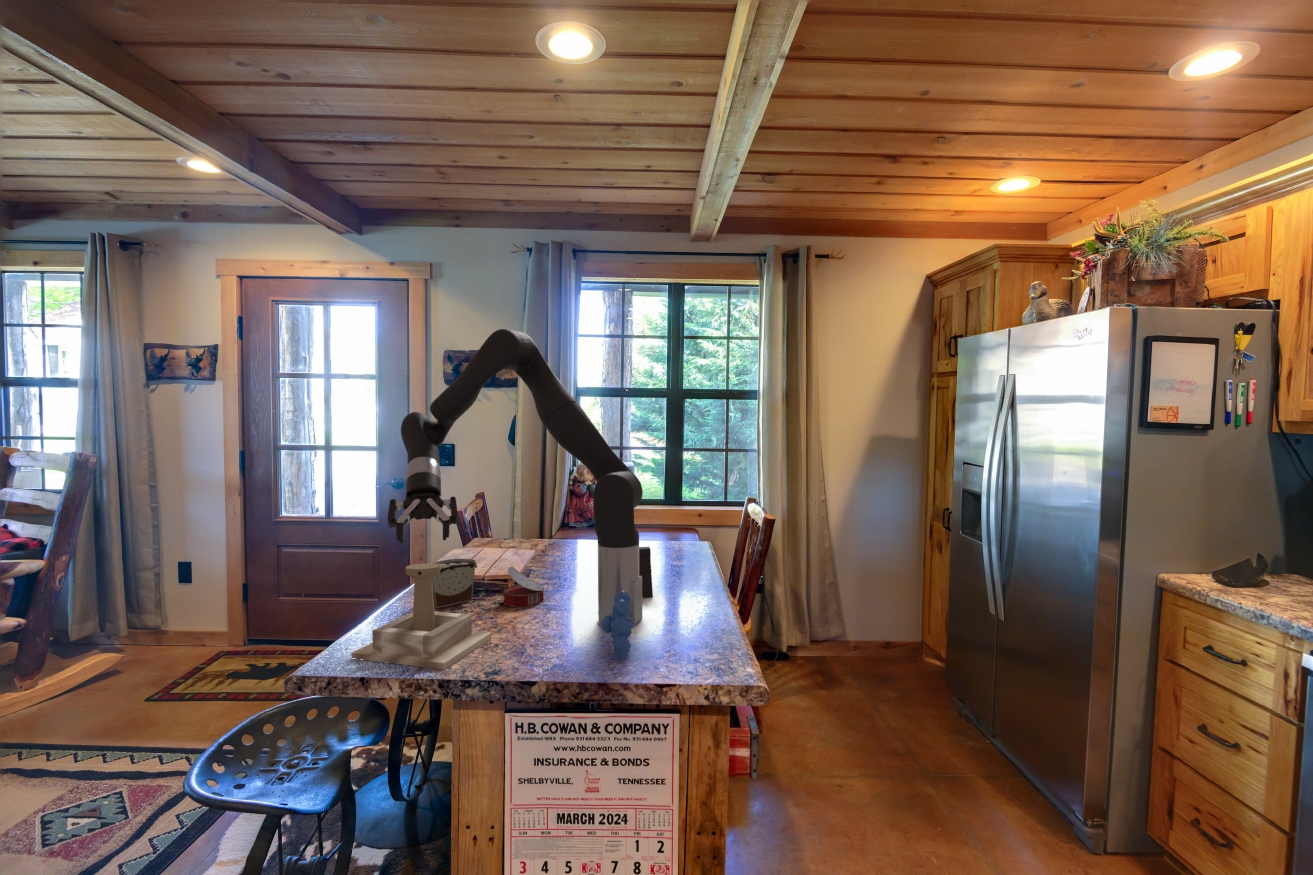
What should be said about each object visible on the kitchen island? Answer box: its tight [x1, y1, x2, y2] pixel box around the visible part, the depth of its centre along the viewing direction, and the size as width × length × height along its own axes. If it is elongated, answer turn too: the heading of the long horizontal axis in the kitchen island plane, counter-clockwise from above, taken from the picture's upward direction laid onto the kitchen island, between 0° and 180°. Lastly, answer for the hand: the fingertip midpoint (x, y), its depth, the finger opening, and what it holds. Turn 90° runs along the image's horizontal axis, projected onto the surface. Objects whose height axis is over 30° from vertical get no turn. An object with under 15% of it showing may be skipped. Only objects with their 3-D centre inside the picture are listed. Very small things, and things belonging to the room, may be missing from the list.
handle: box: [405, 562, 441, 632], centre depth 118 cm, size 5×6×15 cm
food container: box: [433, 558, 478, 609], centre depth 149 cm, size 12×6×10 cm, turn 135°
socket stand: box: [350, 610, 492, 671], centre depth 118 cm, size 20×16×5 cm
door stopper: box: [639, 546, 654, 598], centre depth 156 cm, size 9×6×12 cm, turn 10°
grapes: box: [599, 590, 636, 661], centre depth 114 cm, size 12×7×12 cm, turn 179°
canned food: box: [503, 566, 545, 608], centre depth 150 cm, size 11×10×10 cm
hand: (423, 539), depth 128 cm, fingers open, 8 cm apart
